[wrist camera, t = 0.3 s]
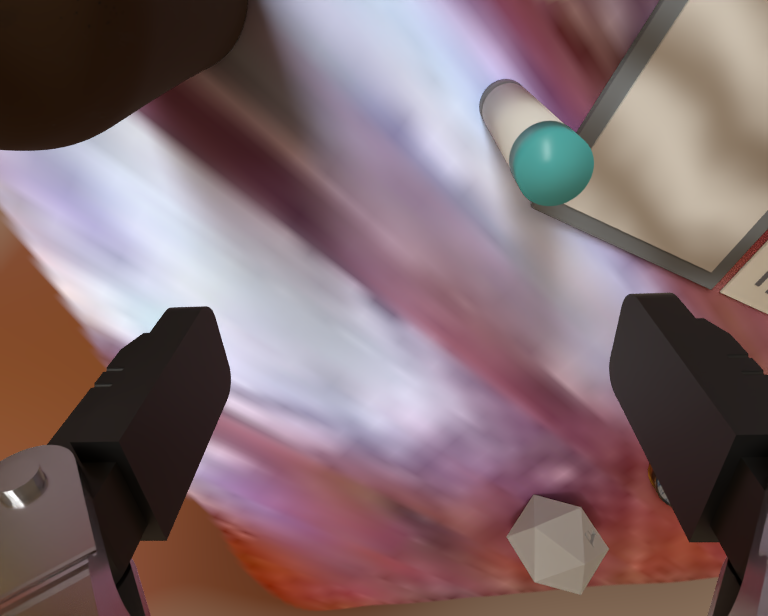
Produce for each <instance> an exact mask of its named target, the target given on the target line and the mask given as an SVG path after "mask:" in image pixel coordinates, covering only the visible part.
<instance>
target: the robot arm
mask: <svg viewBox="0 0 768 616" xmlns="http://www.w3.org/2000/svg"><path fill="white" fill-rule="evenodd" d="M609 373H610V381H611V385H612V388H613V391H614V393H615V395H616V397H617V399H618V401H619V403H620V405H621V407H622V409H623V411H624V413H625V415H626V417H627V419H628V421H629V423H630V425H631V427H632V429H633V431H634V433H635V435H636V437H637V439H638V441H639V443H640V445H641V447H642V449H643V451H644V453H645V455H646V457H647V459H648V461H649V463H650V465H651V467H652V469H653V471H654V473H655V475H656V477H657V479H658V481H659V483H660V485H661V487H662V489H663V491H664V493H665V495H666V497H667V499H668V501H669V503H670V505H671V507H672V509H673V511H674V513H675V515H676V516H677V518H678V520H679V522H680V524H681V526H682V528H683V530H684V532H685V534H686V536H687V538H688V540H689V542H720V544H721V546H722V548H723V550H724V551H725V553H726V555H727V557H726V559H725V561H724V563H723V565H722V568H721V571H720V574H719V578H718V581H717V585H716V588H715V592H714V595H713V599H712V603H711V606H710V609H709V613H708V616H768V375H764V374H763V369H762V368H761V367H760V366H759V365H758V364H757V363H756V362H755V361H754V360H753V359H752V358H749V357H748V353H747V352H746V351H745V350H744V349H743V348H742V347H741V345H740V344H739V343H738V342H737V341H736V340H735V339H734V338H733V337H732V336H731V335H730V334H729V333H727V332H726V331H724V330H722V329H721V328H719V327H717V326H716V325H714V324H712V323H711V322H709V321H707V320H706V319H704V318H697V319H696V318H695V317H694V316H693V315H692V313H691V312H690V311H689V310H688V309H687V308H686V306H685V305H684V304H683V303H682V302H681V301H680V299H679V298H678V297H677V296H676V295H675V294H673V293H648V294H629V295H627V296H626V297H625V299H624V301H623V304H622V307H621V312H620V316H619V321H618V325H617V330H616V334H615V339H614V343H613V348H612V352H611V357H610V363H609ZM230 385H231V374H230V367H229V363H228V360H227V356H226V353H225V349H224V346H223V342H222V339H221V336H220V332H219V328H218V325H217V321H216V318H215V315H214V313H213V311H212V310H211V308H209V307H174V308H169V309H167V310H166V311H165V313H164V314H163V315H162V317H161V318H160V319H159V321H158V322H157V324H156V325H155V326H154V328H153V329H152V330H151V332H150V333H143V334H142V335H140V336H139V337H137V338H136V339H135V340H133V341H132V342H131V343H129V344H128V345H126V346H125V347H124V348H122V349H121V350H120V351H119V353H118V354H117V355H116V356H115V358H114V359H113V360H112V362H111V363H110V364H109V365H108V367H107V371H106V372H103V373H102V374H101V376H100V377H99V378H98V380H97V381H96V382H95V387H94V388H91V389H90V390H89V391H88V392H87V394H86V395H85V396H84V398H83V399H82V400H81V402H80V403H79V404H78V405H77V407H76V408H75V409H74V410H73V412H72V413H71V414H70V416H69V417H68V419H67V420H66V421H65V422H64V423H63V425H62V426H61V427H60V429H59V430H58V431H57V433H56V434H55V435H54V436H53V438H52V439H51V440H50V442H49V443H48V444H47V445H43V446H37V447H33V448H29V449H26V450H23V451H20V452H18V453H16V454H13V455H11V456H9V457H7V458H6V459H4V460H2V461H0V616H150V612H149V609H148V605H147V602H146V599H145V595H144V592H143V589H142V585H141V582H140V579H139V575H138V572H137V568H136V566H135V563H134V562H133V560H132V556H133V554H134V552H135V550H136V548H137V545H138V544H139V542H140V541H153V540H154V541H166V540H167V538H168V536H169V534H170V531H171V529H172V527H173V524H174V522H175V520H176V517H177V515H178V513H179V510H180V508H181V506H182V503H183V501H184V499H185V497H186V494H187V492H188V490H189V487H190V485H191V483H192V480H193V478H194V476H195V473H196V471H197V469H198V466H199V464H200V462H201V459H202V457H203V455H204V452H205V450H206V448H207V445H208V443H209V441H210V438H211V436H212V434H213V431H214V429H215V427H216V424H217V422H218V420H219V417H220V415H221V413H222V410H223V408H224V406H225V403H226V401H227V399H228V396H229V392H230Z"/></svg>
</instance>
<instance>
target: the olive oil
mask: <svg viewBox="0 0 768 616" xmlns="http://www.w3.org/2000/svg"><path fill="white" fill-rule="evenodd" d="M247 5H248V0H0V150H15V151H34V150H48V149H55V148H61V147H66V146H70V145H73V144H77V143H80V142H82V141H85V140H88V139H90V138H92V137H94V136H96V135H98V134H100V133H102V132H104V131H106V130H107V129H109V128H111V127H112V126H114V125H115V124H117V123H118V122H120V121H121V120H123V119H125V118H126V117H128V116H129V115H131V114H132V113H134V112H135V111H137V110H138V109H140V108H141V107H143V106H145V105H146V104H148V103H149V102H151V101H152V100H154V99H155V98H157V97H159V96H160V95H162V94H164V93H165V92H167V91H168V90H170V89H172V88H173V87H175V86H177V85H178V84H180V83H181V82H183V81H185V80H186V79H188V78H190V77H192V76H194V75H196V74H197V73H199V72H201V71H203V70H205V69H207V68H209V67H210V66H212V65H214V64H215V63H217V62H218V61H220V60H221V59H222V58H223V57H224V56H226V55H227V54H228V52H229V51H230V50H231V49H232V48H233V46H234V45H235V43H236V41H237V40H238V38H239V36H240V34H241V31H242V29H243V26H244V22H245V18H246V13H247Z"/></svg>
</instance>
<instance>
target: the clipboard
mask: <svg viewBox="0 0 768 616" xmlns="http://www.w3.org/2000/svg"><path fill="white" fill-rule="evenodd" d="M576 133H577V134H578V135H579V136H580V137H581V138H582V139H583V140H584V141H586V143H587V144H588V145H589V147H590V148H591V151H592V153H593V157H594V169H593V173H592V177H591V179H590V181H589V183H588V184H587V186H586V187H585V189H584V190H583V191H582V192H581V193H580V194H579V195H578V196H577V197H575V198H574V199H572V200H570V201H569V202H566V203H564V204H561V205H557V206H542V205H538V204H536V203H533V202H532V204H531V206H532V208H533V209H535V210H538V211H540V212H542V213H544V214H546V215H548V216H551V217H553V218H555V219H557V220H559V221H562V222H564V223H566V224H568V225H570V226H573V227H575V228H577V229H579V230H581V231H583V232H586V233H588V234H590V235H592V236H594V237H597V238H599V239H601V240H603V241H605V242H608V243H610V244H612V245H614V246H616V247H619V248H621V249H623V250H625V251H627V252H629V253H632V254H634V255H636V256H638V257H640V258H643V259H645V260H647V261H649V262H651V263H654V264H656V265H658V266H660V267H662V268H664V269H667V270H669V271H671V272H673V273H675V274H678V275H680V276H682V277H684V278H686V279H689V280H691V281H693V282H695V283H697V284H700V285H702V286H704V287H706V288H708V289H710V290H711V289H712V288H713V287H714V286H715V285H716V284H717V283H718V282H719V281H720V280H721V279H722V278H723V276H724V275H725V274H726V273H727V272H728V271H729V270H730V269H731V268H732V267H733V266H734V265H735V264H736V262H737V261H738V260H739V259H740V258H741V257H742V256H743V255H744V254H745V253H746V252H747V251H748V249H749V248H750V247H751V246H752V245H753V244H754V243H755V242H756V241H757V240H758V239H759V238H760V237H761V235H762V234H763V233H764V232H765V231H766V230H767V229H768V0H660V1H659V2H658V4H657V5H656V7H655V9H654V10H653V12H652V13H651V15H650V17H649V18H648V20H647V21H646V23H645V25H644V26H643V28H642V29H641V31H640V32H639V34H638V36H637V37H636V39H635V40H634V42H633V44H632V45H631V47H630V48H629V50H628V51H627V53H626V55H625V56H624V58H623V59H622V61H621V63H620V64H619V66H618V67H617V69H616V70H615V72H614V74H613V75H612V77H611V78H610V80H609V82H608V83H607V85H606V86H605V88H604V90H603V91H602V93H601V94H600V96H599V97H598V99H597V101H596V102H595V104H594V105H593V107H592V109H591V110H590V112H589V113H588V115H587V116H586V118H585V120H584V121H583V123H582V124H581V126H580V128H579V129H578V131H577V132H576Z"/></svg>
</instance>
